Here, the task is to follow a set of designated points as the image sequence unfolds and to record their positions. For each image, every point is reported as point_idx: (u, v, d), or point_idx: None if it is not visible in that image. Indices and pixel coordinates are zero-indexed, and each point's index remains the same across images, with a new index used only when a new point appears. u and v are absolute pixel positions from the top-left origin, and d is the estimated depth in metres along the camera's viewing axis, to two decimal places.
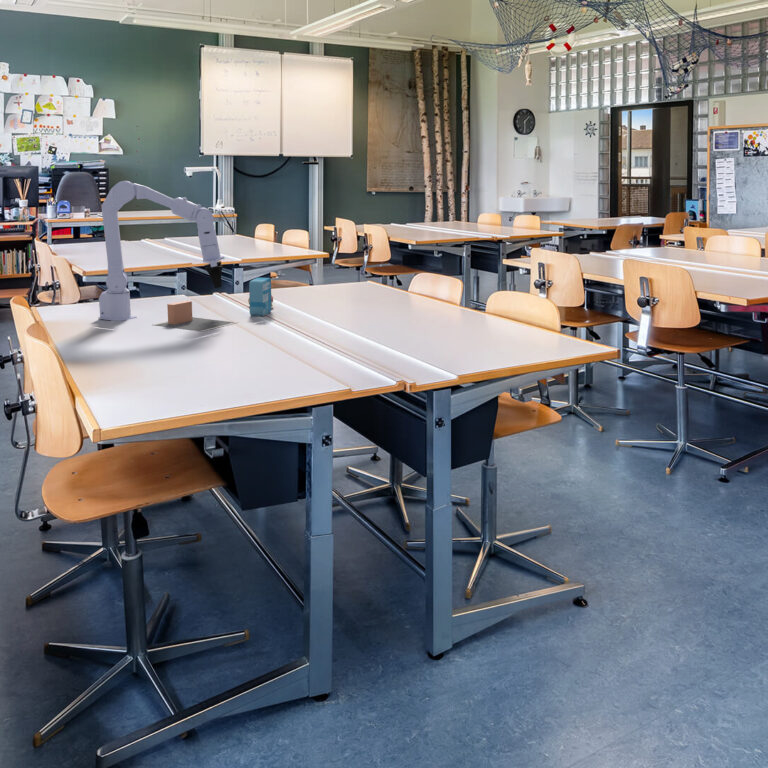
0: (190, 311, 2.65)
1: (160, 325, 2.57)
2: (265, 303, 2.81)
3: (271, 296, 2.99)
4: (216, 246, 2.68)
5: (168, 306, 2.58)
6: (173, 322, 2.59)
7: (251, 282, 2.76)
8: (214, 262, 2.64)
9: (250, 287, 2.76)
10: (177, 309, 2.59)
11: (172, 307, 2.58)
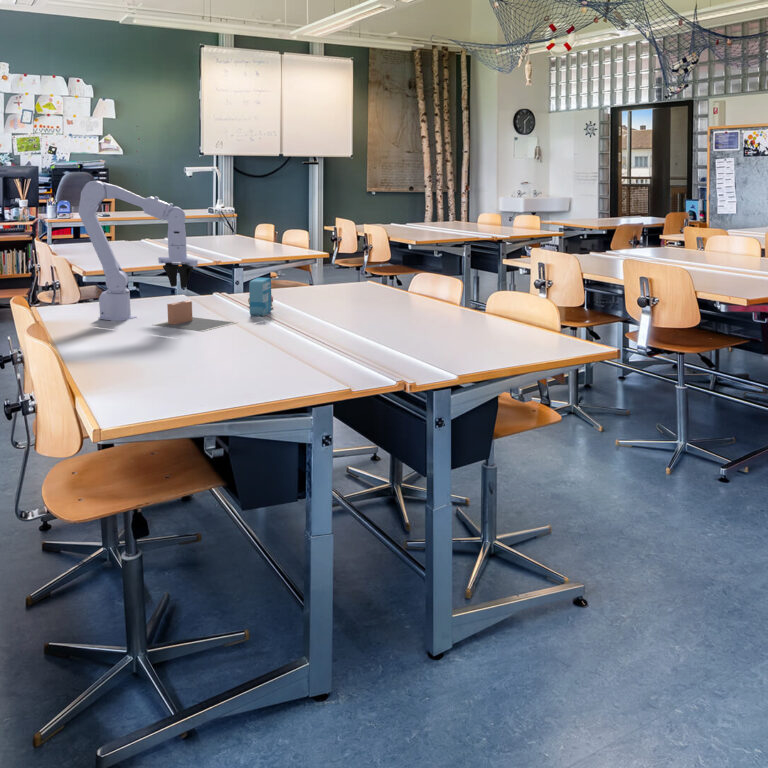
0: (190, 311, 2.65)
1: (160, 325, 2.57)
2: (265, 303, 2.81)
3: (271, 296, 2.99)
4: None
5: (168, 306, 2.58)
6: (173, 322, 2.59)
7: (251, 282, 2.76)
8: (196, 261, 2.65)
9: (250, 287, 2.76)
10: (177, 309, 2.59)
11: (172, 307, 2.58)
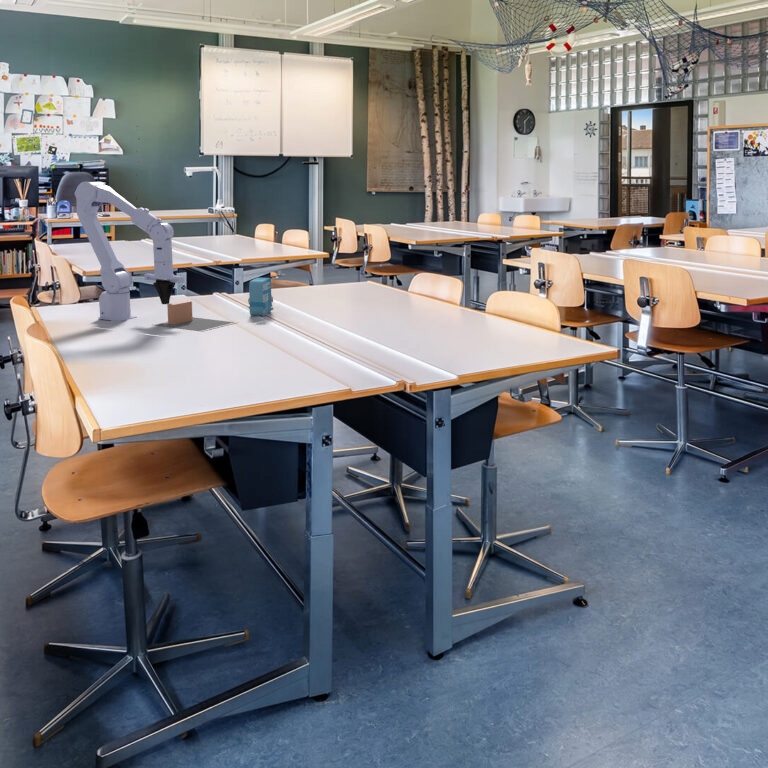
0: (190, 311, 2.65)
1: (160, 325, 2.57)
2: (265, 303, 2.81)
3: (271, 296, 2.99)
4: None
5: (168, 306, 2.58)
6: (173, 322, 2.59)
7: (251, 282, 2.76)
8: (182, 278, 2.60)
9: (250, 287, 2.76)
10: (177, 309, 2.59)
11: (172, 307, 2.58)
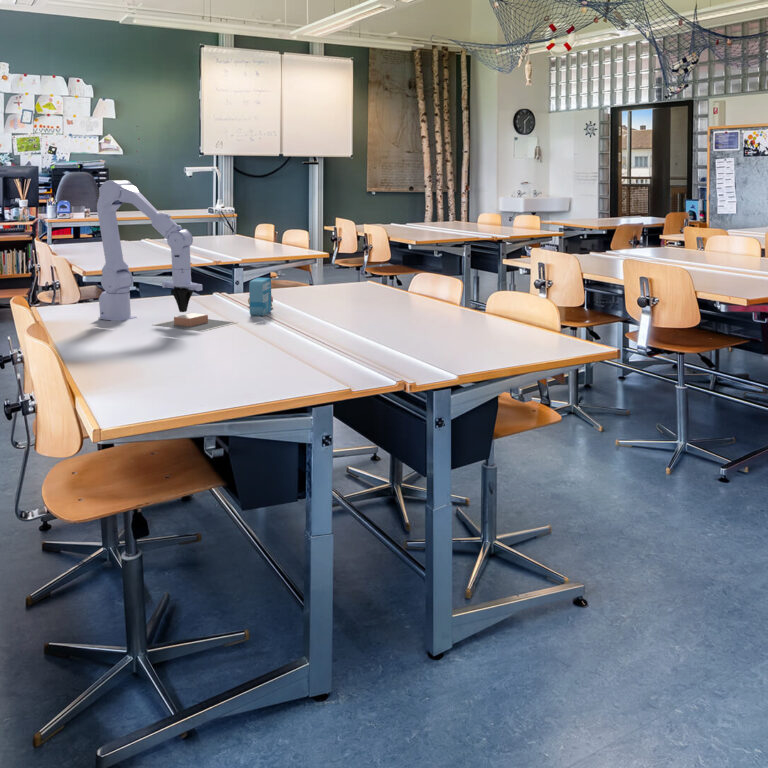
0: None
1: (160, 325, 2.57)
2: (265, 303, 2.81)
3: (271, 296, 2.99)
4: None
5: (188, 319, 2.56)
6: (175, 323, 2.59)
7: (251, 282, 2.76)
8: (201, 286, 2.57)
9: (250, 287, 2.76)
10: None
11: (187, 325, 2.56)
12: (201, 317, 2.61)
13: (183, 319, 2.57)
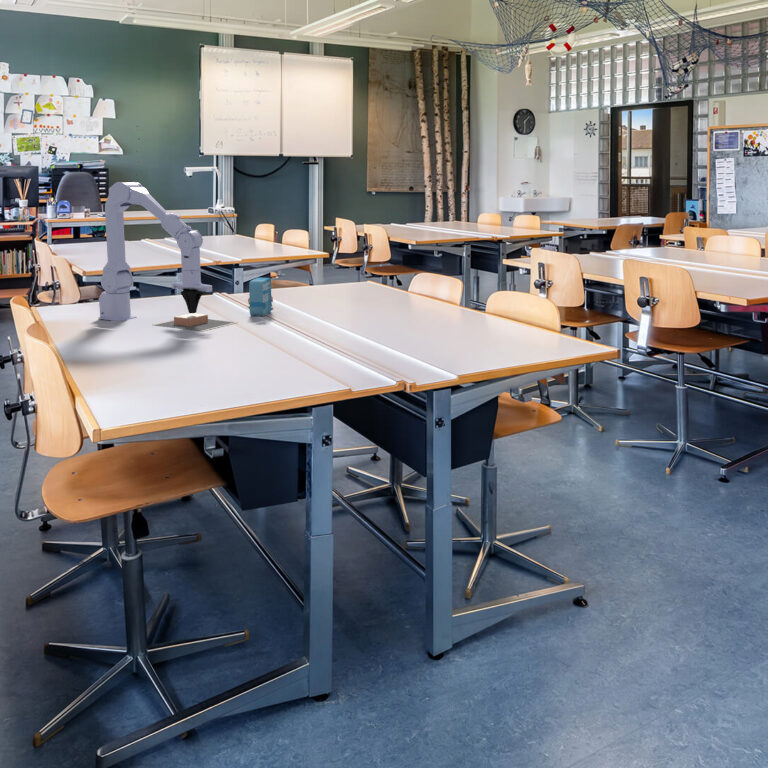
0: None
1: (160, 325, 2.57)
2: (265, 303, 2.81)
3: (271, 296, 2.99)
4: None
5: (188, 319, 2.56)
6: (175, 323, 2.59)
7: (251, 282, 2.76)
8: (210, 287, 2.55)
9: (250, 287, 2.76)
10: None
11: (187, 325, 2.56)
12: (201, 317, 2.61)
13: (183, 319, 2.57)
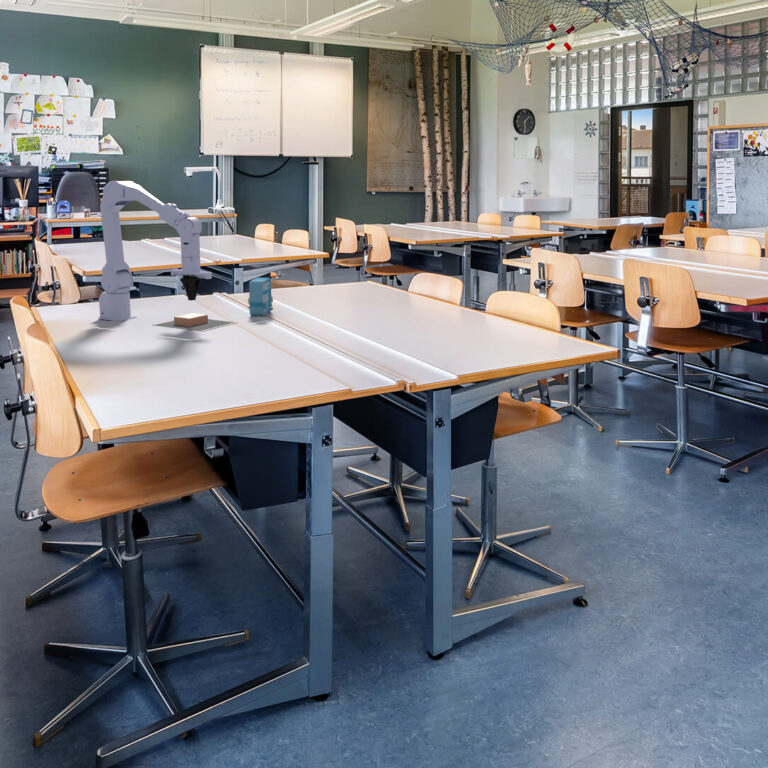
0: None
1: (160, 325, 2.57)
2: (265, 303, 2.81)
3: (271, 296, 2.99)
4: None
5: (188, 319, 2.56)
6: (175, 323, 2.59)
7: (251, 282, 2.76)
8: (210, 274, 2.54)
9: (250, 287, 2.76)
10: None
11: (187, 325, 2.56)
12: (201, 317, 2.61)
13: (183, 319, 2.57)
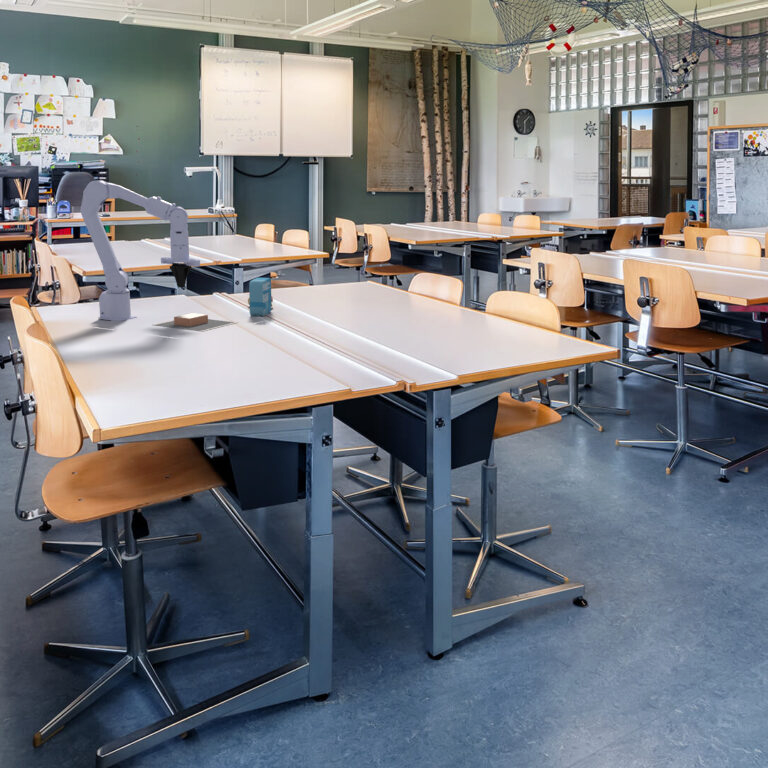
0: None
1: (160, 325, 2.57)
2: (265, 303, 2.81)
3: (271, 296, 2.99)
4: None
5: (188, 319, 2.56)
6: (175, 323, 2.59)
7: (251, 282, 2.76)
8: (198, 262, 2.64)
9: (250, 287, 2.76)
10: None
11: (187, 325, 2.56)
12: (201, 317, 2.61)
13: (183, 319, 2.57)
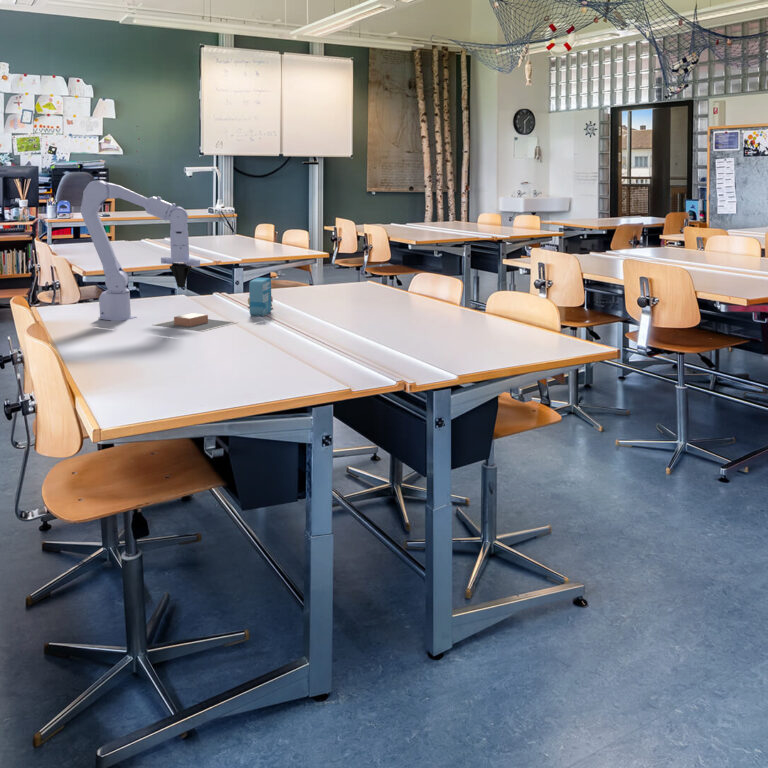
0: None
1: (160, 325, 2.57)
2: (265, 303, 2.81)
3: (271, 296, 2.99)
4: None
5: (188, 319, 2.56)
6: (175, 323, 2.59)
7: (251, 282, 2.76)
8: (198, 262, 2.64)
9: (250, 287, 2.76)
10: None
11: (187, 325, 2.56)
12: (201, 317, 2.61)
13: (183, 319, 2.57)
